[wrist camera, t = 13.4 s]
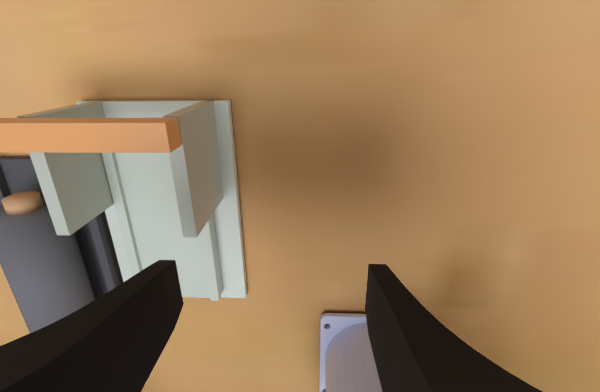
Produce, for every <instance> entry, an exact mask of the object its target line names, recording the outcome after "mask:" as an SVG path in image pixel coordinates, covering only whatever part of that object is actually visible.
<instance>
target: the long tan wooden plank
mask: <svg viewBox="0 0 600 392" xmlns="http://www.w3.org/2000/svg"><path fill="white" fill-rule="evenodd" d="M180 146H181V140H180V133H179V126H178V120H177V118H0V152H48V153H171V152H172V151H174V150H175V149H177V148H178V147H180Z"/></svg>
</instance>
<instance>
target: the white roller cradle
mask: <svg viewBox="0 0 600 392" xmlns="http://www.w3.org/2000/svg"><path fill="white" fill-rule="evenodd" d="M76 104H77V105H72V106H67V107H62V108H57V109H52V110H47V111H42V112H37V113H32V114H26V115H21V116H17V118H177V120H178V126H179V133H180V140H181V146H180V147H178V148H177V149H175V150H174V151H172V152H171V153H48V152H29V154H30V157H31V160H32V163H33V166H34V169H35V172H36V175H37V178H38V181H39V184H40V187H41V190H42V193H43V196H44V198H45V201H46V204H47V207H48V210H49V213H50V216H51V219H52V222H53V225H54V228H55V231H56V234H57V235H71V234H73V233H74V232H76V231H77V230H78V229H80V228H81V227H83V226H84V225H85V224H87V223H88V222H89V221H91V220H92V219H94V218H95V217H96V216H98V215H99V214H101V213H102V212H103V211H105V214H106V218H107V221H108V225H109V229H110V233H111V237H112V240H113V244H114V248H115V252H116V256H117V259H118V263H119V267H120V271H121V275H122V278H123V282H125V281H126V280H128V279H129V278H131V277H133V276H134V275H136V274H137V273H139V272H140V271H142V270H143V269H145V268H147V267H148V266H150V265H151V264H153V263H155V262H157V261H158V260H175V261H176V266H177V272H178V277H179V283H180V288H181V293H182V297H200V298H210V301H219V300H220V297H226V298H246V296H247V293H248V292H247V281H246V269H245V258H244V247H243V236H242V224H241V213H240V202H239V191H238V179H237V168H236V157H235V146H234V134H233V123H232V112H231V101H230V100H120V101H78V102H76Z"/></svg>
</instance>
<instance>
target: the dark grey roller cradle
mask: <svg viewBox="0 0 600 392" xmlns="http://www.w3.org/2000/svg"><path fill="white" fill-rule="evenodd" d="M26 191H37V192H39V193H40V196H41V197H42V196H43V193H42V190H41V187H40V184H39V181H38V178H37V175H36V172H35V169H34V166H33V163H32V160H31V157H0V206H1V205H3V204H2V201H1V200H2V199H3V198H5V197H7V196H9V195H12V194H16V193H20V192H26ZM75 236H76V239H77V242H78V245H79V248H80V252H81V255H82V258H83V261H84V264H85V268H86V271H87V274H88V277H89V280H90V283H91V287H92V290H93V293H94V296H95V299H97V298H99V297H101V296H102V295H104V294H106V293H107V292H109V291H111V290H112V289H114V288H115V287H117V286H119V285H120V284H122V283H123V278H122V275H121V271H120V267H119V263H118V259H117V256H116V252H115V248H114V244H113V240H112V237H111V233H110V229H109V225H108V221H107V218H106V214H105V211H103V212H102V213H101V214H99V215H98V216H96V217H95V218H94V219H92V220H91V221H89V222H88V223H87V224H85V225H84V226H83V227H81V228H80V229H78V230H77V231H76V232H75Z"/></svg>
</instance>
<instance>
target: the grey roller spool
mask: <svg viewBox="0 0 600 392" xmlns="http://www.w3.org/2000/svg"><path fill="white" fill-rule="evenodd" d="M1 201H2V204H3V205H1V206H0V264H1V267H2V269H3V271H4V274H5V276H6V278H7V281H8V283H9V285H10V288H11V290H12V292H13V295H14V297H15V299H16V302H17V304H18V306H19V309H20V311H21V313H22V316H23V318H24V320H25V323H26V325H27V327H28V330H29V332H30V333H32V332H34V331H37V330H39V329H41V328H43V327H45V326H48V325H50V324H52V323H54V322H56V321H58V320H60V319H62V318H64V317H66V316H67V315H69V314H71V313H73V312H75V311H77V310H79V309H80V308H82V307H84V306H86V305H87V304H89V303H91V302H92V301H94V300H96V299H95V296H94V293H93V290H92V287H91V283H90V280H89V277H88V274H87V271H86V268H85V264H84V261H83V258H82V255H81V252H80V248H79V245H78V242H77V239H76V236H75V232H74V233H73V234H71V235H57V234H56V231H55V228H54V225H53V222H52V219H51V216H50V213H49V210H48V207H47V204H46V201H45V198H44V196H42V197H41V196H40V193H39V192H37V191H26V192H20V193H16V194H12V195H9V196H7V197H5V198H3V199H2V200H1Z"/></svg>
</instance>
